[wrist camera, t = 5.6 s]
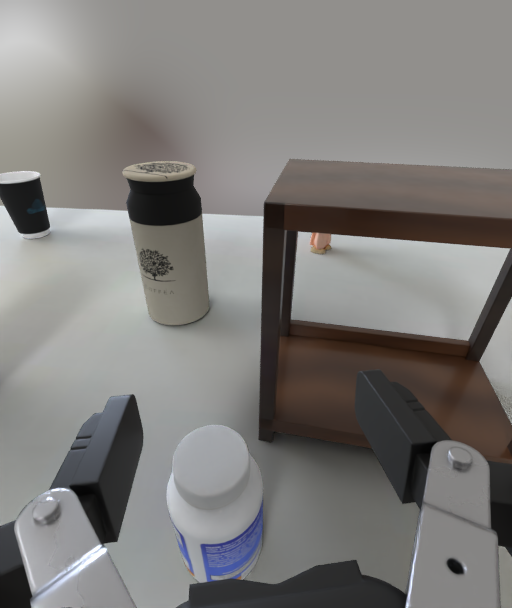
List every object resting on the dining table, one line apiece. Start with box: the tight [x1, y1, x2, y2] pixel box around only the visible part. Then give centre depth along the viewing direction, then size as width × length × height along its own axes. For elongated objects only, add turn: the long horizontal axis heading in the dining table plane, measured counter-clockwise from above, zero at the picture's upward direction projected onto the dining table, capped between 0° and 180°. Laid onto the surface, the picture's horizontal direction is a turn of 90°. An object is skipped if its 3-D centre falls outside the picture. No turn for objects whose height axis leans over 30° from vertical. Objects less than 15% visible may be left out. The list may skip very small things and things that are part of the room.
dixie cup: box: [0, 171, 50, 239], centre depth 64 cm, size 8×8×11 cm
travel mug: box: [123, 161, 209, 325], centre depth 41 cm, size 8×8×18 cm
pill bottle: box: [166, 425, 263, 583], centre depth 20 cm, size 5×5×10 cm
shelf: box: [259, 159, 512, 464], centre depth 27 cm, size 12×20×20 cm, turn 79°
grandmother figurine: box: [310, 233, 331, 254], centre depth 58 cm, size 8×4×13 cm, turn 152°
